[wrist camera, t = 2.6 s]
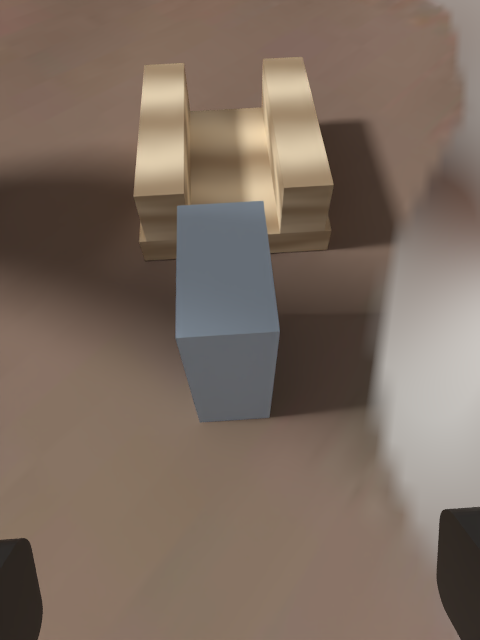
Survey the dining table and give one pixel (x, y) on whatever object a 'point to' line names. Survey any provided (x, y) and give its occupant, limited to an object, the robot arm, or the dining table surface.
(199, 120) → the slotted block
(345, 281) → the dining table surface
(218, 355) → the rectangular block
